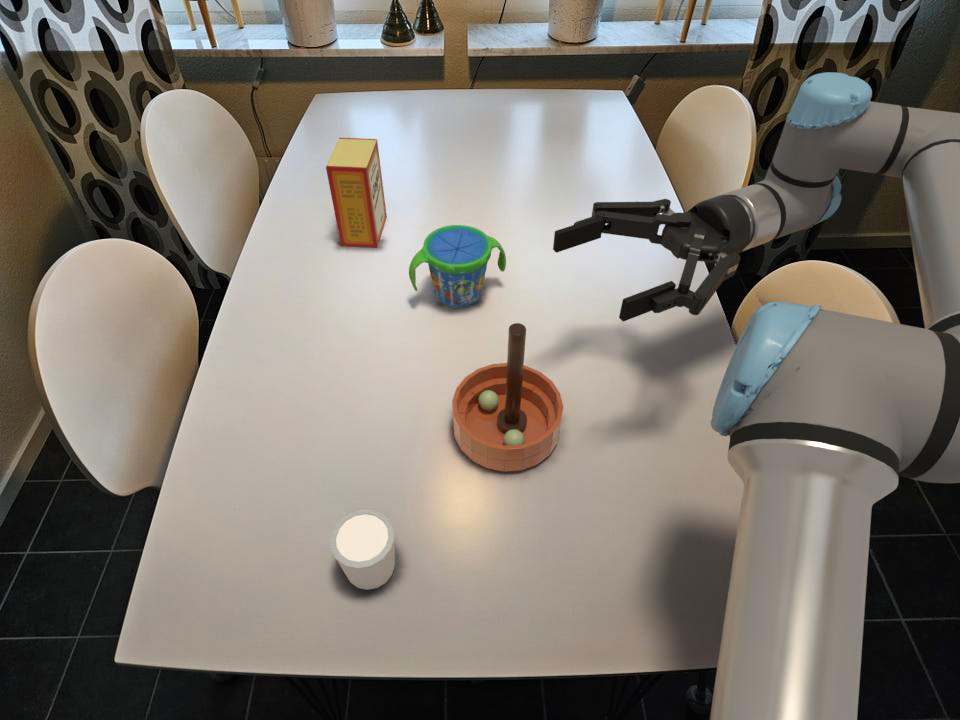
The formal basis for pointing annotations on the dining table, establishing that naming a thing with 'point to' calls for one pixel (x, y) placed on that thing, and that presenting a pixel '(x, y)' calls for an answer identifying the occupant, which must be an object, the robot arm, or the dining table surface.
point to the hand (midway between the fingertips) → (586, 274)
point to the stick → (514, 382)
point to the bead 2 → (513, 438)
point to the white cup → (364, 548)
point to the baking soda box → (357, 191)
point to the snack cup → (457, 263)
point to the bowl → (480, 425)
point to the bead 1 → (488, 400)
